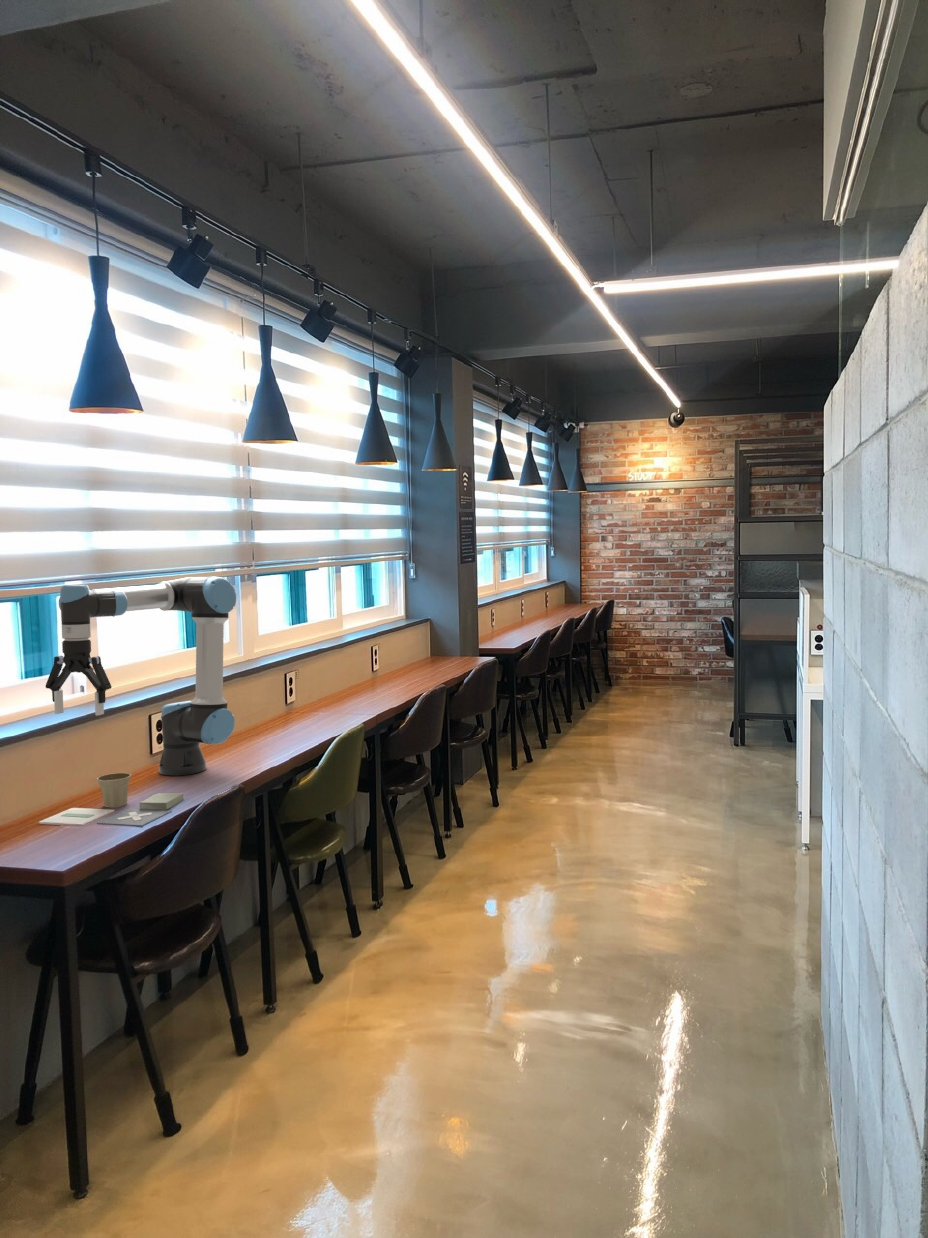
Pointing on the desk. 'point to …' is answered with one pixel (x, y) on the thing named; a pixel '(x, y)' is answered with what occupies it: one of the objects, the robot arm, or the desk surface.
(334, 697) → the desk surface
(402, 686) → the desk surface
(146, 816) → the pad
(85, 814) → the pad
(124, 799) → the flower pot
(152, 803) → the notebook
